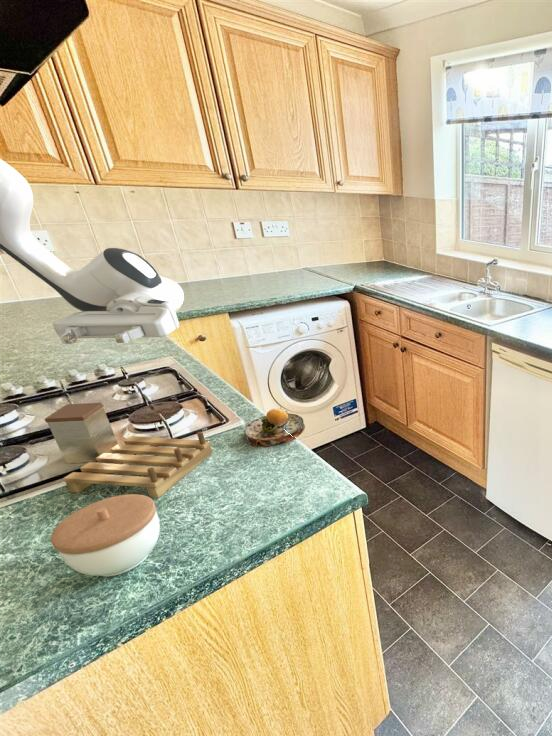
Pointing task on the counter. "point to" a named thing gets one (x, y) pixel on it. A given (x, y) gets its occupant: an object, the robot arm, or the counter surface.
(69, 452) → the tea tin
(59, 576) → the counter surface
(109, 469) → the rack
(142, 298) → the robot arm
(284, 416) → the open sandwich
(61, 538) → the trinket box
